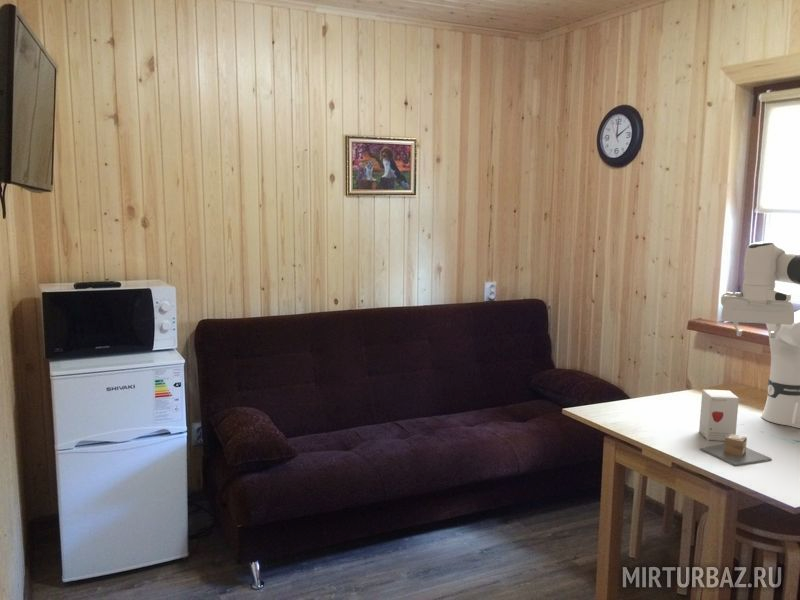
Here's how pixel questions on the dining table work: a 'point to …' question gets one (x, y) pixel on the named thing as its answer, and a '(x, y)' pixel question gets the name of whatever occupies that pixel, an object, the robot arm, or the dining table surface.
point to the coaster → (735, 460)
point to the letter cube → (735, 445)
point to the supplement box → (718, 414)
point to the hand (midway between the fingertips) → (755, 336)
